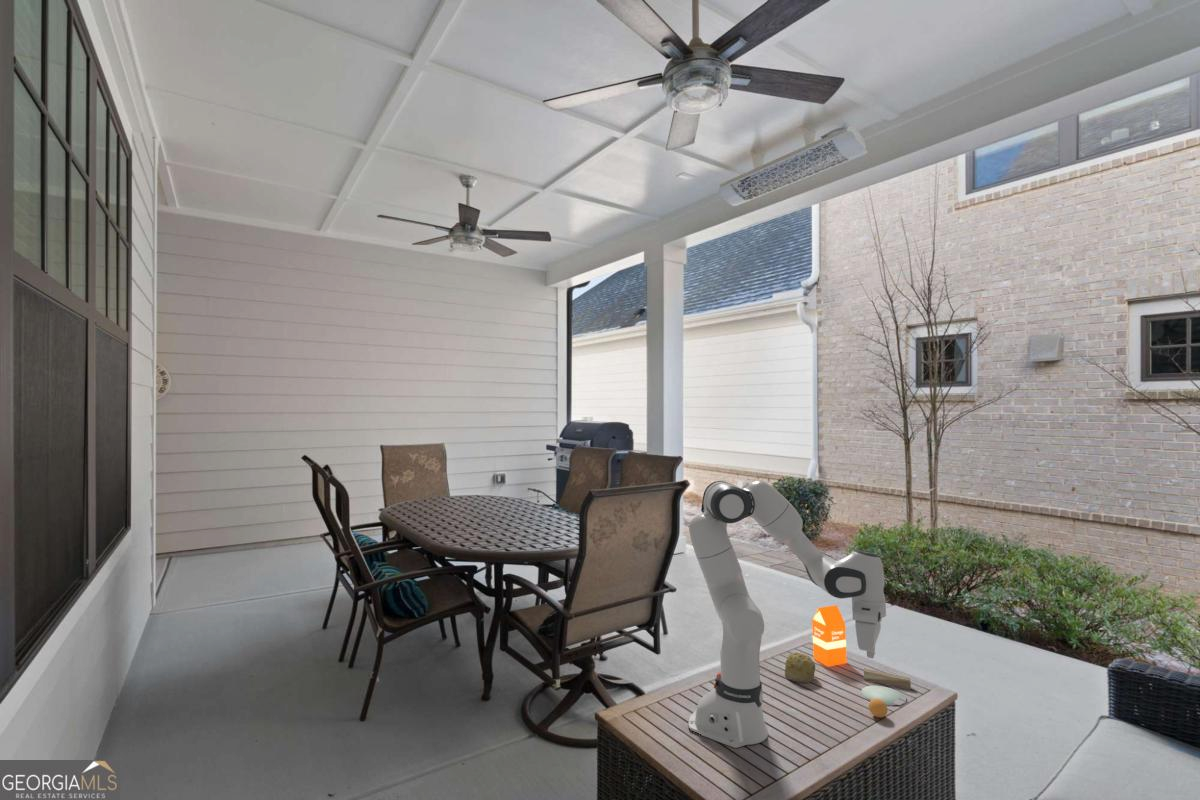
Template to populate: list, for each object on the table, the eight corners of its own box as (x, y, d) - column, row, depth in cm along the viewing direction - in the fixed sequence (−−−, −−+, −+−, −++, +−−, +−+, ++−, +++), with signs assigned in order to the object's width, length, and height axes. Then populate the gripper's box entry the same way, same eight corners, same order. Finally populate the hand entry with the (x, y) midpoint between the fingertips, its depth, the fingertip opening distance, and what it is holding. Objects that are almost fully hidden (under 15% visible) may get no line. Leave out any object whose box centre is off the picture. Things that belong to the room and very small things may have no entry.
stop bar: (910, 689, 177) (910, 680, 178) (863, 679, 185) (863, 670, 185) (910, 687, 179) (910, 678, 179) (864, 677, 187) (864, 668, 187)
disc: (860, 700, 171) (860, 699, 171) (862, 683, 182) (862, 682, 183) (907, 709, 165) (907, 708, 165) (906, 691, 176) (906, 690, 176)
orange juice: (813, 658, 203) (811, 604, 204) (832, 655, 206) (830, 602, 207) (827, 666, 196) (825, 611, 197) (847, 663, 198) (844, 608, 200)
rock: (800, 680, 193) (785, 652, 197) (825, 672, 186) (809, 644, 190) (788, 692, 186) (772, 663, 190) (814, 684, 180) (798, 655, 183)
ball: (868, 718, 160) (868, 701, 161) (869, 710, 165) (868, 694, 165) (887, 722, 158) (886, 705, 158) (887, 714, 162) (887, 697, 163)
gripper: (861, 596, 166) (863, 641, 165) (851, 615, 149) (853, 666, 148) (884, 599, 162) (886, 646, 162) (876, 619, 145) (879, 672, 144)
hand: (871, 656), depth 155 cm, fingers closed
